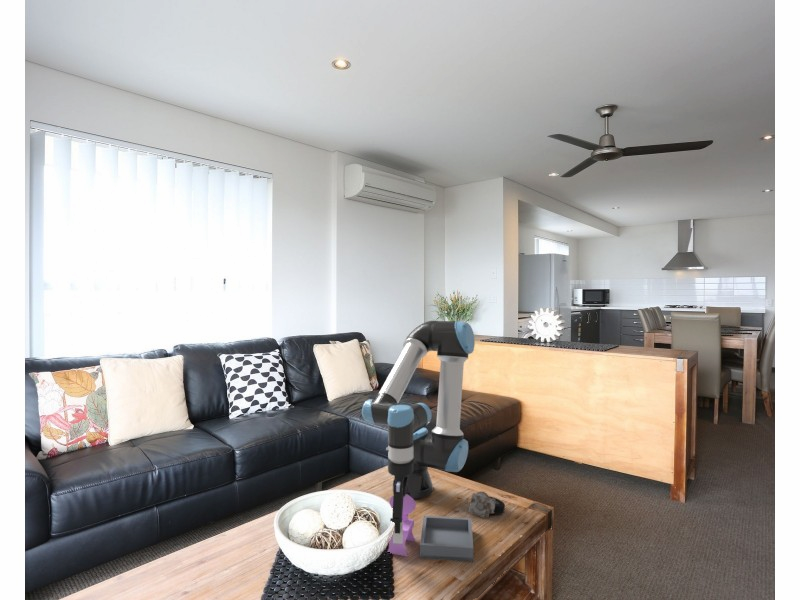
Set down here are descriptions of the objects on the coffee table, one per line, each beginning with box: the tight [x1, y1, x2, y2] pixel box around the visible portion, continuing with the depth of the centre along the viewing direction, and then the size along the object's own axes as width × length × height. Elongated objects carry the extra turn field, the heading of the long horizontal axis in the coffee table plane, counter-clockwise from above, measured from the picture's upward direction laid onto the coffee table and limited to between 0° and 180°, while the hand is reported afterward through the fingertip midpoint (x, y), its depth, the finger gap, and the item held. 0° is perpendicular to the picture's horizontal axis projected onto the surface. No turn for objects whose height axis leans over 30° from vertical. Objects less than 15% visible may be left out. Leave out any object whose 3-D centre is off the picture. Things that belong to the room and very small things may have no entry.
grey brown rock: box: [468, 491, 506, 520], centre depth 154 cm, size 7×11×10 cm
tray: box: [419, 515, 474, 563], centre depth 135 cm, size 16×15×4 cm
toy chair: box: [387, 494, 417, 557], centre depth 134 cm, size 8×9×15 cm
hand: (400, 529), depth 133 cm, fingers open, 13 cm apart
